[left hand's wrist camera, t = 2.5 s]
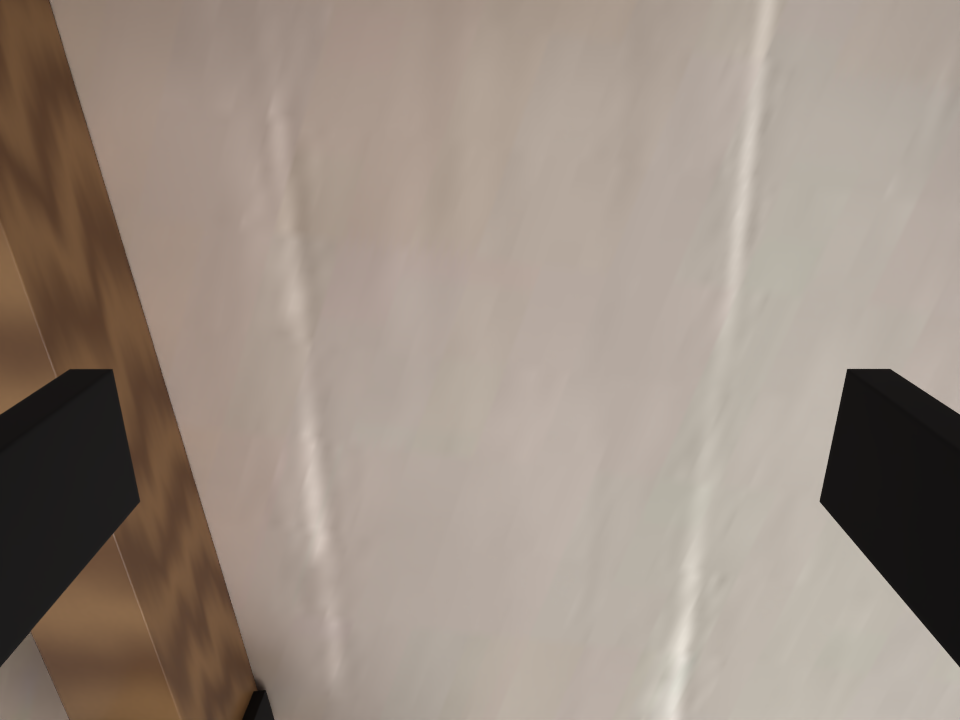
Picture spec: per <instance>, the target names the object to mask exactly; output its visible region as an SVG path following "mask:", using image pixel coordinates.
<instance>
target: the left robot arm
mask: <svg viewBox="0 0 960 720" xmlns="http://www.w3.org/2000/svg"><path fill="white" fill-rule="evenodd" d="M139 503H140V497H139V493H138V488H137V483H136V478H135V473H134V469H133V464H132V459H131V454H130V449H129V445H128V440H127V435H126V430H125V426H124V421H123V416H122V411H121V406H120V402H119V397H118V392H117V387H116V382H115V378H114V373H113V369H69V370H68V371H66V372H65V373H63V374H61V375H60V376H58V377H57V378H55V379H54V380H52V381H51V382H49V383H48V384H46V385H45V386H43V387H42V388H40V389H39V390H37V391H36V392H34V393H32V394H31V395H29V396H28V397H26V398H25V399H23V400H22V401H20V402H19V403H17V404H16V405H14V406H13V407H11V408H10V409H8V410H7V411H5V412H3V413H2V414H0V667H1V666H2V664H3V663H4V662H5V661H6V660H7V659H8V657H9V656H10V655H11V654H12V653H13V651H14V650H15V649H16V648H17V647H18V646H19V644H20V643H21V642H22V641H23V640H24V638H25V637H26V636H27V635H28V634H29V633H30V631H31V630H32V629H33V628H34V627H35V625H36V624H37V623H38V622H39V621H40V620H41V618H42V617H43V616H44V615H45V614H46V612H47V611H48V610H49V609H50V608H51V607H52V605H53V604H54V603H55V602H56V601H57V599H58V598H59V597H60V596H61V595H62V594H63V592H64V591H65V590H66V589H67V588H68V586H69V585H70V584H71V583H72V582H73V581H74V579H75V578H76V577H77V576H78V575H79V573H80V572H81V571H82V570H83V569H84V568H85V566H86V565H87V564H88V563H89V562H90V560H91V559H92V558H93V557H94V556H95V555H96V553H97V552H98V551H99V550H100V549H101V547H102V546H103V545H104V544H105V543H106V542H107V540H108V539H109V538H110V537H111V536H112V535H113V533H114V532H115V531H116V530H117V529H118V527H119V526H120V525H121V524H122V523H123V522H124V520H125V519H126V518H127V517H128V516H129V514H130V513H131V512H132V511H133V510H134V509H135V507H136V506H137V505H138V504H139ZM820 503H821V504H822V505H823V506H824V507H825V509H826V510H827V511H828V512H829V513H830V514H831V516H832V517H833V518H834V519H835V520H836V522H837V523H838V524H839V525H840V526H841V527H842V529H843V530H844V531H845V532H846V533H847V535H848V536H849V537H850V538H851V539H852V540H853V542H854V543H855V544H856V545H857V546H858V548H859V549H860V550H861V551H862V552H863V553H864V555H865V556H866V557H867V558H868V559H869V560H870V562H871V563H872V564H873V565H874V566H875V568H876V569H877V570H878V571H879V572H880V573H881V575H882V576H883V577H884V578H885V579H886V581H887V582H888V583H889V584H890V585H891V586H892V588H893V589H894V590H895V591H896V592H897V594H898V595H899V596H900V597H901V598H902V599H903V601H904V602H905V603H906V604H907V605H908V607H909V608H910V609H911V610H912V611H913V612H914V614H915V615H916V616H917V617H918V618H919V620H920V621H921V622H922V623H923V624H924V625H925V627H926V628H927V629H928V630H929V631H930V633H931V634H932V635H933V636H934V637H935V638H936V640H937V641H938V642H939V643H940V644H941V646H942V647H943V648H944V649H945V650H946V651H947V653H948V654H949V655H950V656H951V657H952V659H953V660H954V661H955V662H956V663H957V664H958V666H959V667H960V414H958V413H957V412H955V411H953V410H952V409H950V408H949V407H947V406H946V405H944V404H943V403H941V402H940V401H938V400H937V399H935V398H934V397H932V396H931V395H929V394H928V393H926V392H924V391H923V390H921V389H920V388H918V387H917V386H915V385H914V384H912V383H911V382H909V381H908V380H906V379H905V378H903V377H902V376H900V375H899V374H897V373H895V372H894V371H892V370H891V369H847V373H846V378H845V382H844V387H843V392H842V397H841V402H840V406H839V411H838V416H837V421H836V425H835V430H834V435H833V440H832V445H831V449H830V454H829V459H828V464H827V469H826V473H825V478H824V483H823V488H822V493H821V497H820Z"/></svg>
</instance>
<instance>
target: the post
mask: <svg viewBox="0 0 960 720" xmlns="http://www.w3.org/2000/svg"><path fill="white" fill-rule="evenodd" d="M69 369H113V373H114V378H115V382H116V387H117V392H118V397H119V402H120V406H121V411H122V416H123V421H124V426H125V430H126V435H127V440H128V445H129V449H130V454H131V459H132V464H133V469H134V473H135V478H136V483H137V488H138V493H139V497H140V503H139V504H138V505H137V506H136V507H135V509H134V510H133V511H132V512H131V513H130V514H129V516H128V517H127V518H126V519H125V520H124V522H123V523H122V524H121V525H120V526H119V527H118V529H117V530H116V531H115V532H114V533H113V535H112V536H111V537H110V538H109V539H108V540H107V542H106V543H105V544H104V545H103V546H102V547H101V549H100V550H99V551H98V552H97V553H96V555H95V556H94V557H93V558H92V559H91V560H90V562H89V563H88V564H87V565H86V566H85V568H84V569H83V570H82V571H81V572H80V573H79V575H78V576H77V577H76V578H75V579H74V581H73V582H72V583H71V584H70V585H69V586H68V588H67V589H66V590H65V591H64V592H63V594H62V595H61V596H60V597H59V598H58V599H57V601H56V602H55V603H54V604H53V605H52V607H51V608H50V609H49V610H48V611H47V612H46V614H45V615H44V616H43V617H42V618H41V620H40V621H39V622H38V623H37V624H36V625H35V627H34V628H33V629H32V630H31V634H32V636H33V638H34V640H35V643H36V645H37V647H38V649H39V652H40V654H41V656H42V658H43V661H44V663H45V665H46V668H47V670H48V672H49V674H50V677H51V679H52V681H53V683H54V686H55V688H56V690H57V692H58V695H59V697H60V699H61V702H62V704H63V706H64V708H65V711H66V713H67V715H68V717H69V720H242V719H243V716H244V714H245V711H246V709H247V706H248V704H249V701H250V699H251V696H252V694H253V692H254V691H258V690H257V687H256V684H255V680H254V677H253V674H252V670H251V667H250V664H249V660H248V657H247V654H246V650H245V647H244V644H243V641H242V637H241V634H240V631H239V627H238V624H237V621H236V617H235V614H234V611H233V608H232V604H231V601H230V598H229V594H228V591H227V588H226V584H225V581H224V578H223V574H222V571H221V568H220V565H219V561H218V558H217V555H216V551H215V548H214V545H213V541H212V538H211V535H210V532H209V528H208V525H207V522H206V518H205V515H204V512H203V508H202V505H201V502H200V498H199V495H198V492H197V489H196V485H195V482H194V479H193V475H192V472H191V469H190V465H189V462H188V459H187V456H186V452H185V449H184V446H183V442H182V439H181V436H180V432H179V429H178V426H177V422H176V419H175V416H174V413H173V409H172V406H171V403H170V399H169V396H168V393H167V389H166V386H165V383H164V380H163V376H162V373H161V370H160V366H159V363H158V360H157V356H156V353H155V350H154V346H153V343H152V340H151V337H150V333H149V330H148V327H147V323H146V320H145V317H144V313H143V310H142V307H141V303H140V300H139V297H138V294H137V290H136V287H135V284H134V280H133V277H132V274H131V270H130V267H129V264H128V261H127V257H126V254H125V251H124V247H123V244H122V241H121V237H120V234H119V231H118V227H117V224H116V221H115V218H114V214H113V211H112V208H111V204H110V201H109V198H108V194H107V191H106V188H105V185H104V181H103V178H102V175H101V171H100V168H99V165H98V161H97V158H96V155H95V151H94V148H93V145H92V142H91V138H90V135H89V132H88V128H87V125H86V122H85V118H84V115H83V112H82V109H81V105H80V102H79V99H78V95H77V92H76V89H75V85H74V82H73V79H72V75H71V72H70V69H69V66H68V62H67V59H66V56H65V52H64V49H63V46H62V42H61V39H60V36H59V33H58V29H57V26H56V23H55V19H54V16H53V13H52V9H51V6H50V3H49V0H0V414H2V413H3V412H5V411H7V410H8V409H10V408H11V407H13V406H14V405H16V404H17V403H19V402H20V401H22V400H23V399H25V398H26V397H28V396H29V395H31V394H32V393H34V392H36V391H37V390H39V389H40V388H42V387H43V386H45V385H46V384H48V383H49V382H51V381H52V380H54V379H55V378H57V377H58V376H60V375H61V374H63V373H65V372H66V371H68V370H69Z"/></svg>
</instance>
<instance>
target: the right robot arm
mask: <svg viewBox="0 0 960 720" xmlns="http://www.w3.org/2000/svg"><path fill="white" fill-rule="evenodd" d="M242 720H274V717H273V714H272V710H271V707H270V703H269V700H268V697H267V693H266V690H263V691H254V692H253V694H252V696H251V699H250V701H249V704H248V706H247V709H246V711H245V714H244V716H243V719H242Z"/></svg>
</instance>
